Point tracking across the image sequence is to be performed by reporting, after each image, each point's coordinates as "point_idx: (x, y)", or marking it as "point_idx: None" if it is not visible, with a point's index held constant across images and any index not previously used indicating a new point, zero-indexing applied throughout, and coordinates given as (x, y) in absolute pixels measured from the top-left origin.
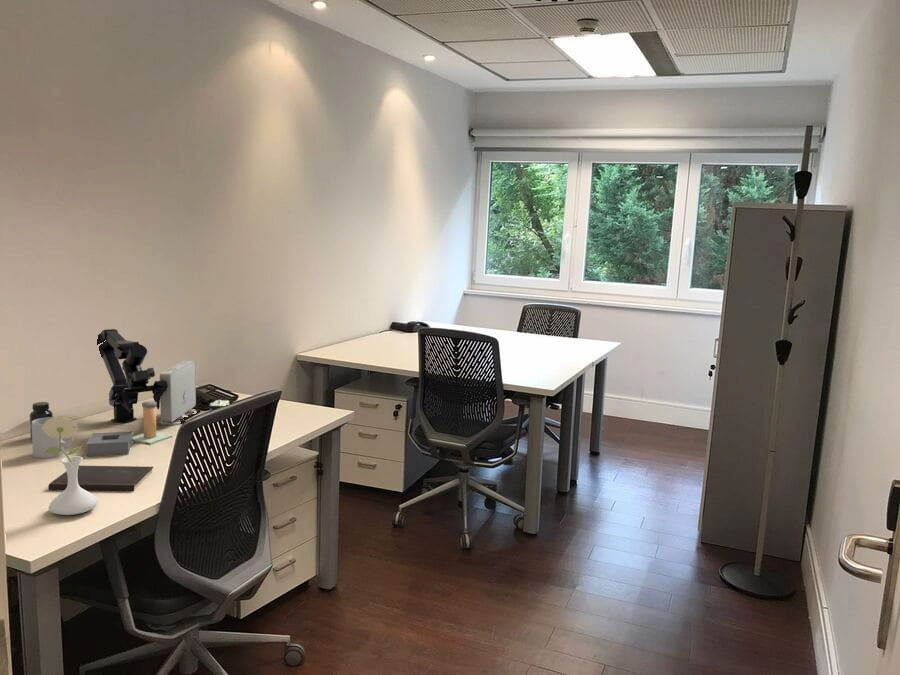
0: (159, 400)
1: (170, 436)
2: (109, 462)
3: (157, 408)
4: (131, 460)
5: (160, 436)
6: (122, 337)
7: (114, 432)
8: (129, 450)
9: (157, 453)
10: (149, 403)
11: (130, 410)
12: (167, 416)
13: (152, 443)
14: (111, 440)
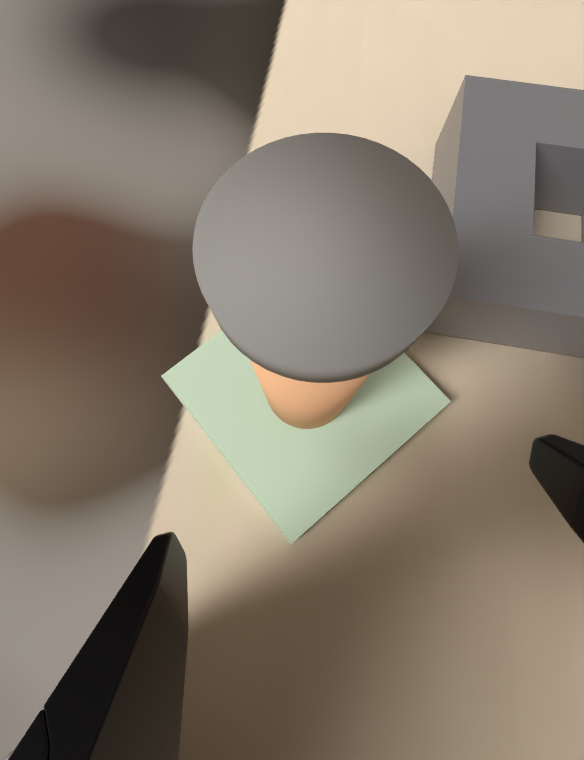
0: (82, 660)
1: (177, 365)
2: (517, 59)
3: (184, 563)
4: (419, 56)
5: (240, 373)
6: None
7: (579, 307)
8: (432, 181)
9: (294, 111)
10: (325, 192)
11: (568, 442)
12: None
13: None
14: (573, 130)
